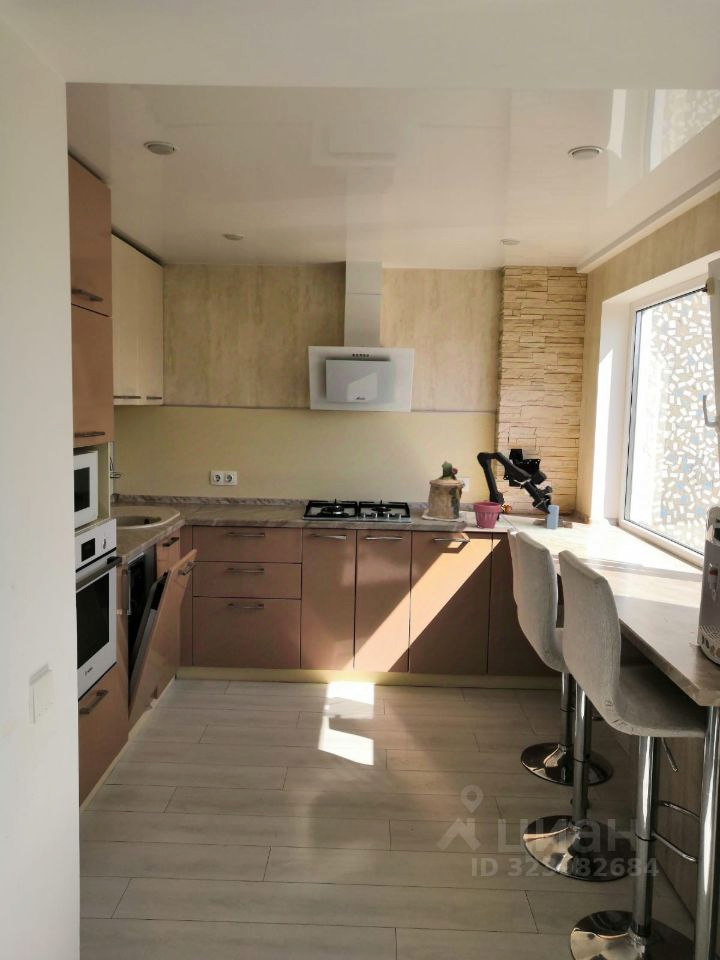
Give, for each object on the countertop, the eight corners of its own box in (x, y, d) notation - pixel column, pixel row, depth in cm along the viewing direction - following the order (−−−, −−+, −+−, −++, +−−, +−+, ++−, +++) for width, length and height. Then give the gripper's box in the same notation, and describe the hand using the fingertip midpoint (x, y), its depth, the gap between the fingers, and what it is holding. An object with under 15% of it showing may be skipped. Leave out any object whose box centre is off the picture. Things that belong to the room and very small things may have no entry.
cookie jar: (420, 519, 412) (423, 462, 408) (424, 512, 436) (427, 458, 433) (465, 523, 408) (469, 465, 404) (467, 516, 432) (470, 461, 428)
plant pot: (481, 530, 389) (482, 506, 387) (467, 525, 401) (468, 501, 400) (504, 529, 394) (506, 505, 393) (489, 524, 407) (491, 501, 406)
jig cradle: (534, 525, 411) (535, 517, 411) (535, 521, 424) (535, 514, 423) (572, 528, 407) (573, 520, 406) (571, 524, 419) (572, 517, 419)
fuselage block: (546, 528, 402) (548, 505, 401) (549, 527, 406) (550, 504, 405) (555, 529, 400) (556, 506, 399) (557, 528, 404) (559, 505, 403)
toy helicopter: (513, 513, 449) (515, 490, 448) (487, 515, 438) (489, 492, 436) (504, 511, 456) (505, 489, 455) (478, 512, 445) (479, 490, 443)
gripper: (539, 482, 395) (558, 505, 391) (548, 479, 411) (567, 501, 407) (523, 495, 400) (542, 518, 396) (533, 492, 416) (552, 514, 412)
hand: (551, 512), depth 403 cm, fingers open, 9 cm apart
